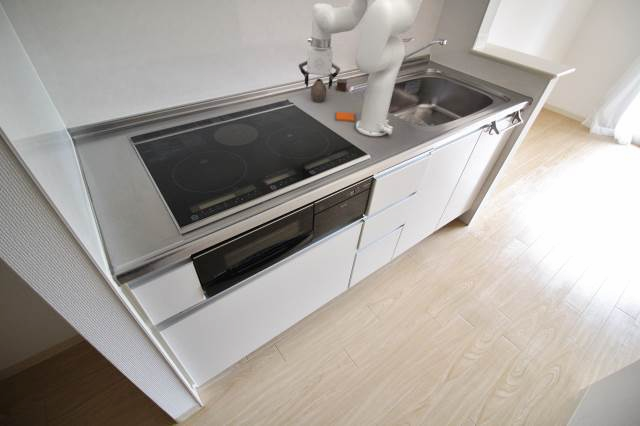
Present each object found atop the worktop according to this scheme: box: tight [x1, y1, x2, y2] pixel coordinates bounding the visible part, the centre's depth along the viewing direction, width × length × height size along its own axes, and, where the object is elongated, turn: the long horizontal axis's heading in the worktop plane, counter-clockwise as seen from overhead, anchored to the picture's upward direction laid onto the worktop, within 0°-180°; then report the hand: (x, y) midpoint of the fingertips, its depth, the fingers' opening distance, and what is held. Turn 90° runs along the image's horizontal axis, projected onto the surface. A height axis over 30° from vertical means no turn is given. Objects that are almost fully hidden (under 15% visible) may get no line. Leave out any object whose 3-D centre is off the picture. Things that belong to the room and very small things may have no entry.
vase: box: [310, 78, 327, 103], centre depth 125 cm, size 7×7×9 cm
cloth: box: [335, 111, 355, 122], centre depth 117 cm, size 7×6×1 cm
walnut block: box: [336, 78, 348, 92], centre depth 137 cm, size 4×4×4 cm
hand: (318, 86), depth 125 cm, fingers open, 9 cm apart
